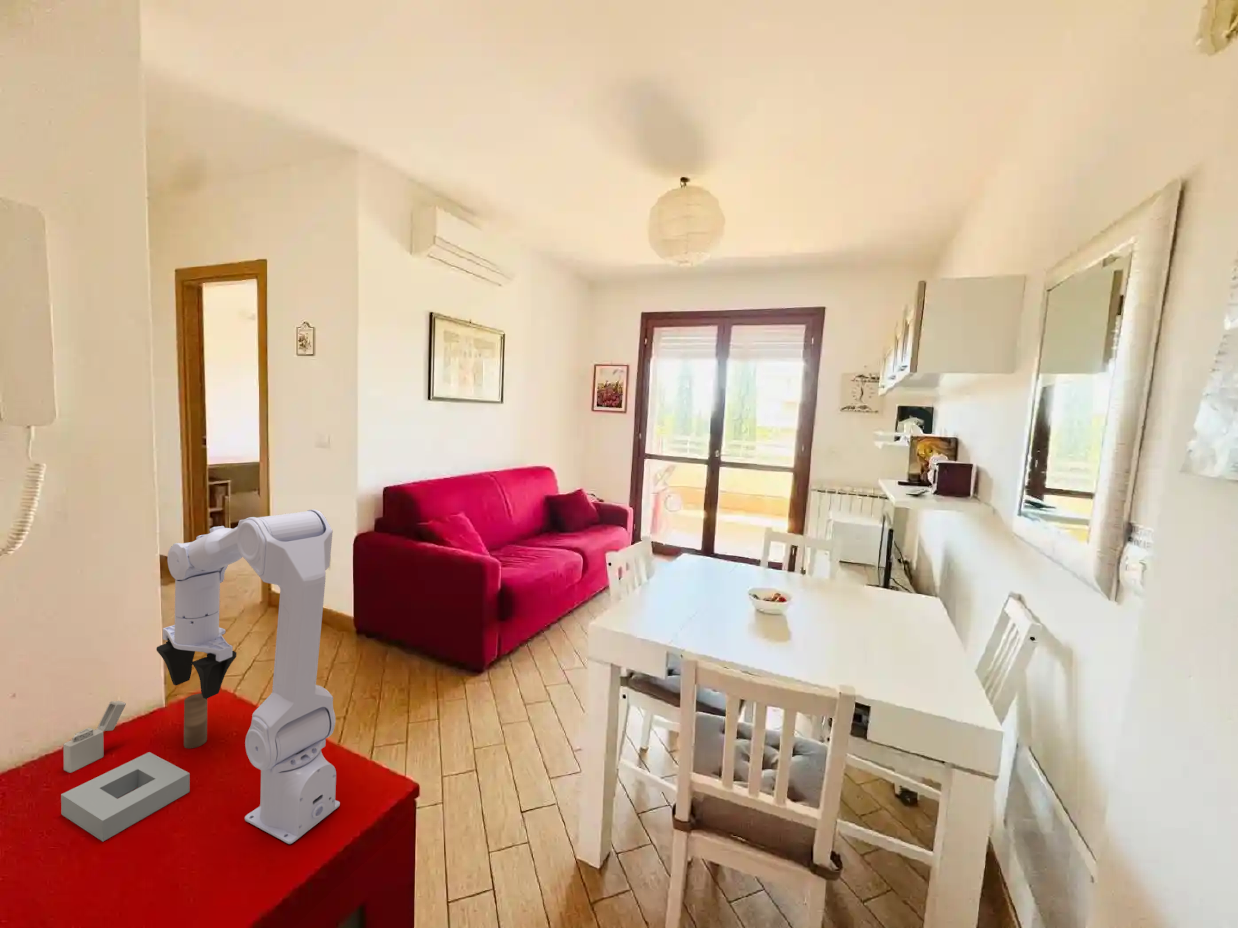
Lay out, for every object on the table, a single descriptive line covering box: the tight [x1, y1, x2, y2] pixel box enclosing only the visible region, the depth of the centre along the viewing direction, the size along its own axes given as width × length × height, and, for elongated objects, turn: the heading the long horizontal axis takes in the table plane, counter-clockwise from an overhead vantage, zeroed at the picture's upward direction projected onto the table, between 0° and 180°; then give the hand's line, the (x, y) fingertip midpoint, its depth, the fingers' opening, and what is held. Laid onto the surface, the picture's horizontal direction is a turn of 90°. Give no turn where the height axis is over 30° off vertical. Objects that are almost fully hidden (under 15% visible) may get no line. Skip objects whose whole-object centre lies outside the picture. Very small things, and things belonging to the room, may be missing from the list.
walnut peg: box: [183, 693, 208, 749], centre depth 87 cm, size 3×3×8 cm
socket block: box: [60, 751, 191, 842], centre depth 73 cm, size 10×10×3 cm
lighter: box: [63, 700, 127, 773], centre depth 81 cm, size 7×2×8 cm, turn 163°
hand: (195, 688), depth 86 cm, fingers open, 7 cm apart
